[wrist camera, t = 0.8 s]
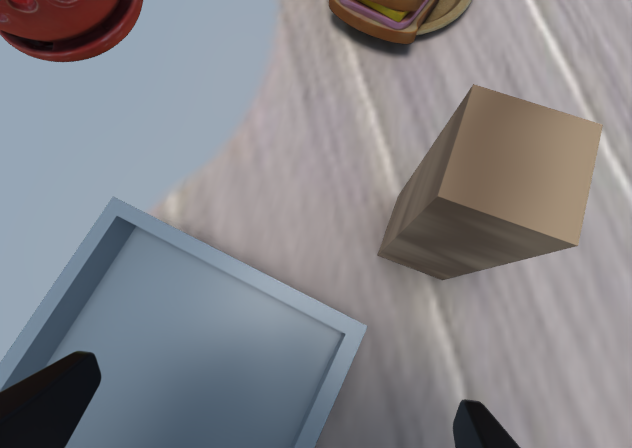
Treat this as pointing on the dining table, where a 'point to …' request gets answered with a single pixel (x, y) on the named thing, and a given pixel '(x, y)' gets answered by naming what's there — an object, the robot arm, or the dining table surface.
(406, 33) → the toy sandwich meal
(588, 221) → the dining table surface
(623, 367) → the dining table surface
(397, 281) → the dining table surface
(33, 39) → the plant pot
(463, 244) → the block
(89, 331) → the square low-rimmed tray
